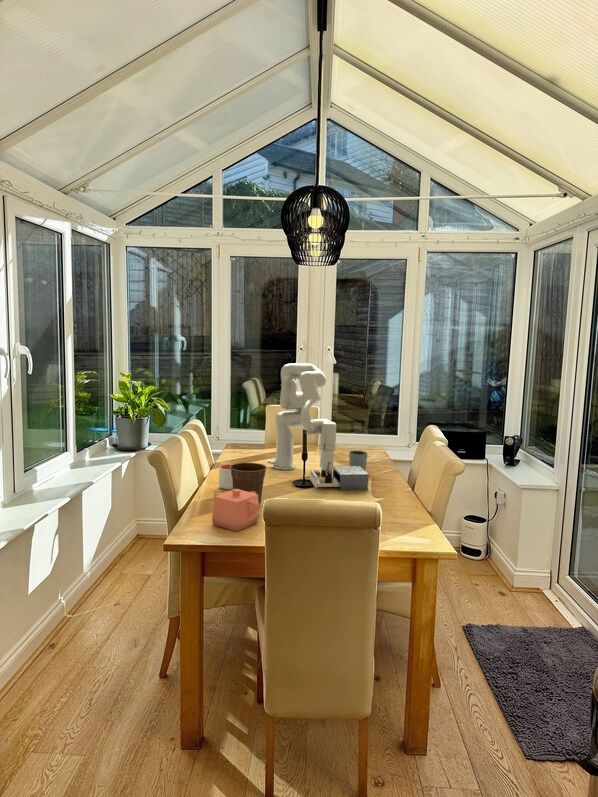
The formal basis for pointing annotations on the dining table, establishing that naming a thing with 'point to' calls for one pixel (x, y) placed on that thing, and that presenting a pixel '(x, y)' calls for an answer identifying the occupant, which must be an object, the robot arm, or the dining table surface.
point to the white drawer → (316, 483)
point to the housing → (351, 477)
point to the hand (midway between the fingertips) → (326, 480)
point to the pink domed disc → (323, 479)
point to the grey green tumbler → (358, 459)
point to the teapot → (235, 509)
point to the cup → (225, 477)
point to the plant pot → (248, 477)
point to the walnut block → (317, 473)
